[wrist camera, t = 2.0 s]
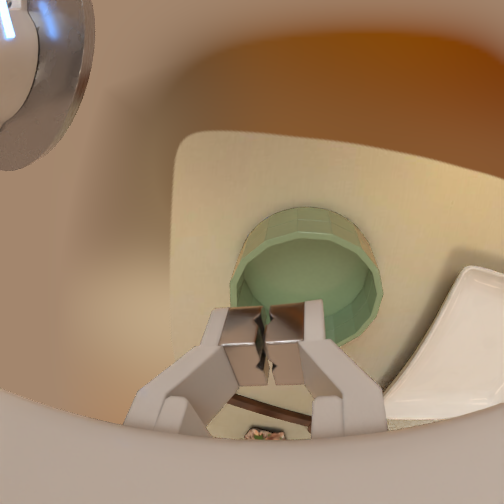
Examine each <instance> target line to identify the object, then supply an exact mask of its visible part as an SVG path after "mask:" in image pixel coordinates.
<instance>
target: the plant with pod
mask: <svg viewBox="0 0 504 504" xmlns="http://www.w3.org/2000/svg"><path fill="white" fill-rule="evenodd" d="M283 435H284V433H283V432H280V433H279V432H276V433H273V434H272V433H271V432H270V433H268V431H265V430H258V428H251V429H250V430H249V432H248V433H247V434H246V435H244V436H245V438H246V439H247V440H285V439H286V438H284V436H283Z"/></svg>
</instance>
